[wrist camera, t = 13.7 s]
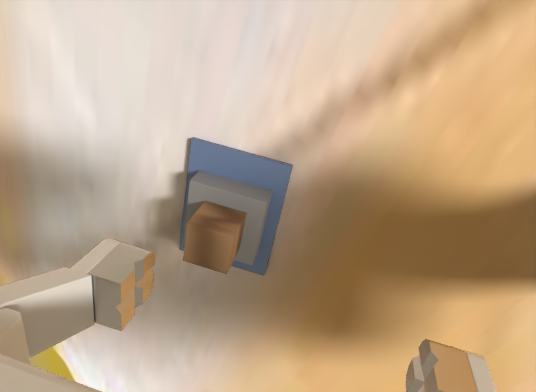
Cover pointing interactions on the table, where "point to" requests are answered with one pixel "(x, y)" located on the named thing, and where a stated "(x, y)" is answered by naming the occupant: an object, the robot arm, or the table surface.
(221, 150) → the base
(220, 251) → the walnut cube
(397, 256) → the table surface
